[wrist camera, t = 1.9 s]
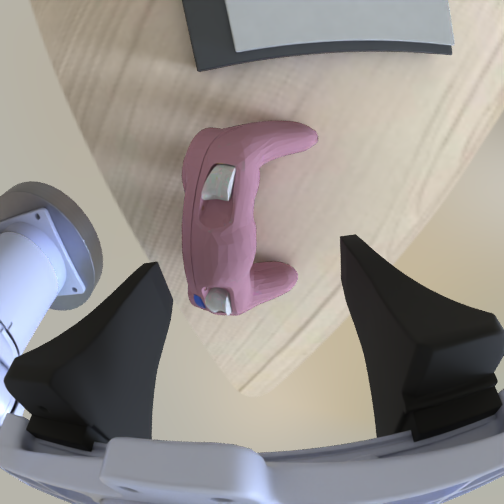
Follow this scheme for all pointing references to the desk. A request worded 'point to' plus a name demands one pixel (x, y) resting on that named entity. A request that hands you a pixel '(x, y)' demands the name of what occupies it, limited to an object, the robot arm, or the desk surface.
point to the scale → (313, 28)
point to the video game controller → (232, 214)
